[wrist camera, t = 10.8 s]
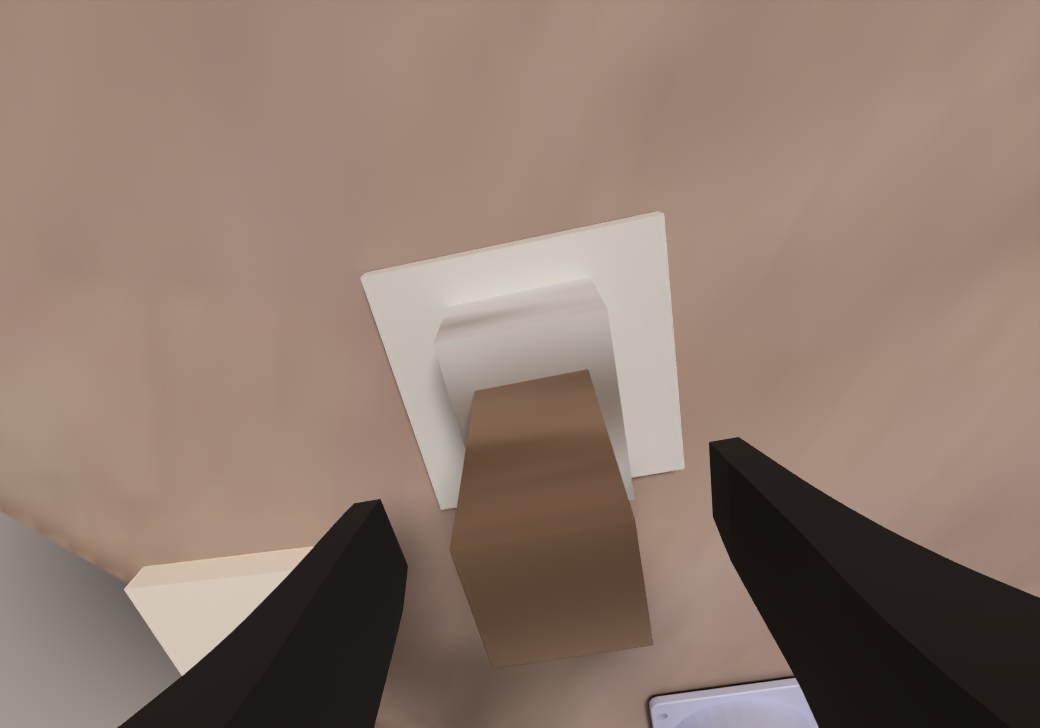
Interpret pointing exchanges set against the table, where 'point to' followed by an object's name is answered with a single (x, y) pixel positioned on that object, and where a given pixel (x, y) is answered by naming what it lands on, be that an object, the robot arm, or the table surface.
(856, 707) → the robot arm
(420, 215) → the table surface
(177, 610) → the tile
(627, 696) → the table surface
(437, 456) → the mat
